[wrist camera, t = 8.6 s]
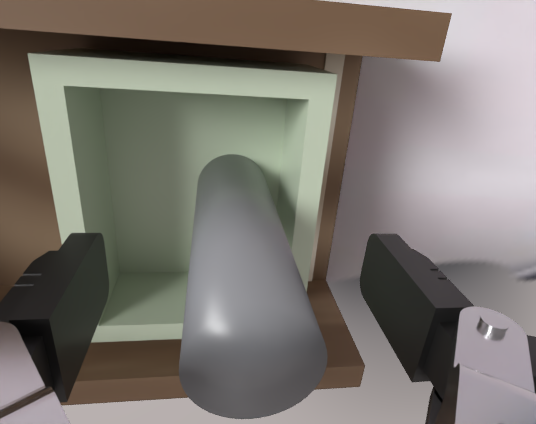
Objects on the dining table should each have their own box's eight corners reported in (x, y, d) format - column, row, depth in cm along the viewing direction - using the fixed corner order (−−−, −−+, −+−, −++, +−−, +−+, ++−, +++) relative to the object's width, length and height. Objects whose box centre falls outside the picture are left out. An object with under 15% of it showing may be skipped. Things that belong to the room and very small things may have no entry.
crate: (78, 47, 14) (-209, 77, 5) (305, 63, 16) (460, 113, 6) (108, 277, 19) (-8, 543, 9) (283, 274, 20) (350, 503, 10)
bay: (-317, -40, 13) (-836, -113, 6) (359, 21, 16) (451, 13, 10) (-153, 296, 19) (-340, 430, 12) (318, 286, 22) (359, 386, 16)
